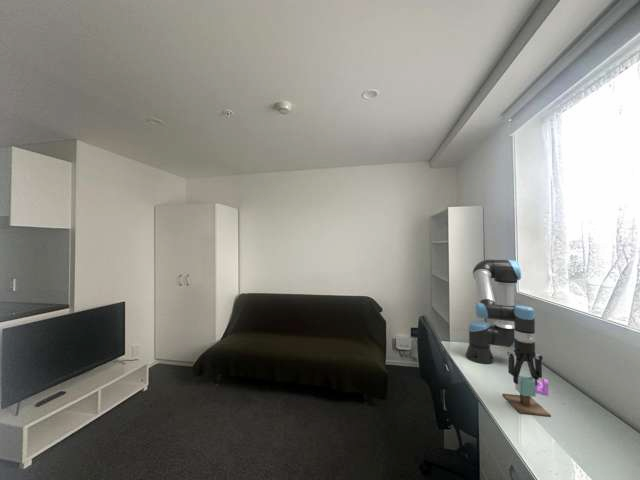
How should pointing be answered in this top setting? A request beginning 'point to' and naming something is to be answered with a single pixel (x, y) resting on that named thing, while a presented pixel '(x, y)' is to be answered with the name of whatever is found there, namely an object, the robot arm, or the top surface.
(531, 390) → the teal rectangular block
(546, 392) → the bracket
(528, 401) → the brown square panel
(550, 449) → the top surface
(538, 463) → the top surface
